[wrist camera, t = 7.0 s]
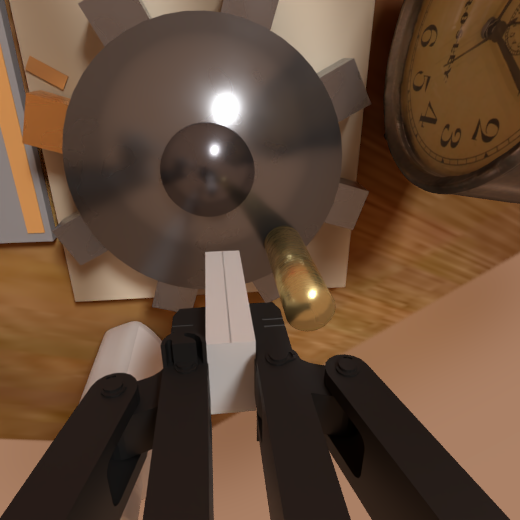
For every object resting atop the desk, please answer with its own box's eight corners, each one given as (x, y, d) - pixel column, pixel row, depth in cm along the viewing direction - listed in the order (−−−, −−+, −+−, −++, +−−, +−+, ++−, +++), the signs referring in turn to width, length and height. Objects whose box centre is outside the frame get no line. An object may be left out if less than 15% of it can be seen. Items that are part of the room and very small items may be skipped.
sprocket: (301, 319, 24) (339, 424, 17) (25, 263, 21) (-65, 365, 14) (413, 44, 19) (536, 35, 12) (57, -94, 15) (-68, -222, 8)
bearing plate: (79, 294, 23) (74, 302, 23) (10, -29, 17) (0, -33, 16) (341, 280, 25) (345, 287, 24) (371, -21, 18) (378, -24, 18)
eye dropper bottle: (182, 321, 25) (164, 520, 14) (173, 393, 27) (152, 612, 16) (106, 314, 24) (25, 520, 13) (103, 389, 26) (32, 616, 16)
